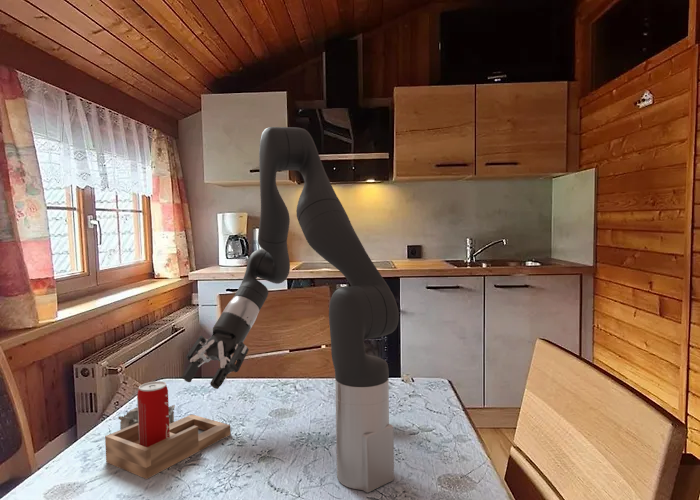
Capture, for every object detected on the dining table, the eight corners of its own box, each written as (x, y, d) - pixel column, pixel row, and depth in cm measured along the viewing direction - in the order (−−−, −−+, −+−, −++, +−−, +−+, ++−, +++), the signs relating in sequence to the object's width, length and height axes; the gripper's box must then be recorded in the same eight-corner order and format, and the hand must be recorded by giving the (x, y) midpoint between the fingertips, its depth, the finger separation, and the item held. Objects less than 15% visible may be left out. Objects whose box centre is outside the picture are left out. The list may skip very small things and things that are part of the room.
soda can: (172, 447, 88) (170, 385, 88) (140, 455, 86) (138, 391, 85) (167, 436, 93) (165, 377, 93) (138, 443, 91) (135, 382, 90)
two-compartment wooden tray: (230, 434, 98) (230, 411, 98) (146, 479, 81) (145, 451, 81) (192, 423, 104) (191, 401, 104) (106, 462, 87) (105, 436, 87)
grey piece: (116, 436, 99) (115, 417, 99) (130, 421, 107) (129, 403, 106) (167, 433, 100) (166, 415, 100) (177, 419, 107) (177, 401, 107)
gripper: (206, 308, 109) (166, 370, 100) (251, 313, 102) (213, 380, 93) (223, 326, 114) (187, 386, 105) (268, 332, 107) (233, 397, 97)
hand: (199, 383), depth 99 cm, fingers open, 8 cm apart
